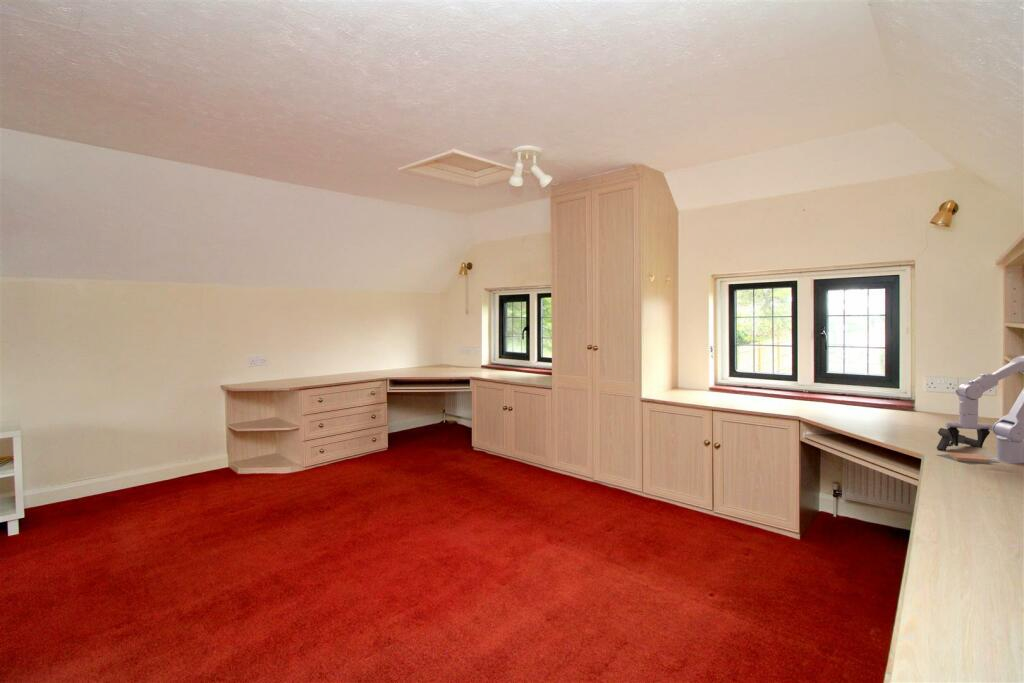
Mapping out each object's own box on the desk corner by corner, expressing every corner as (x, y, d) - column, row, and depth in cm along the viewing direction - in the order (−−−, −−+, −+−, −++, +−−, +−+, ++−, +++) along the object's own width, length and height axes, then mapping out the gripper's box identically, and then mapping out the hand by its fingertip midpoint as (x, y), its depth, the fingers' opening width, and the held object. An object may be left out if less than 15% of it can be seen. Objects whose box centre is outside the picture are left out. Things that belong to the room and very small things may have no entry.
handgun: (933, 449, 224) (938, 427, 224) (968, 458, 231) (973, 437, 232) (943, 451, 220) (948, 429, 221) (979, 460, 228) (983, 439, 228)
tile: (948, 452, 213) (956, 457, 206) (978, 454, 209) (988, 459, 202) (948, 455, 213) (956, 460, 206) (978, 458, 210) (988, 463, 202)
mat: (964, 454, 217) (964, 453, 217) (999, 463, 203) (999, 462, 203) (935, 456, 215) (935, 454, 215) (969, 465, 201) (969, 464, 201)
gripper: (986, 412, 208) (985, 445, 209) (942, 410, 214) (941, 442, 214) (995, 415, 201) (994, 449, 202) (949, 413, 207) (948, 446, 208)
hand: (967, 446), depth 208 cm, fingers open, 7 cm apart
